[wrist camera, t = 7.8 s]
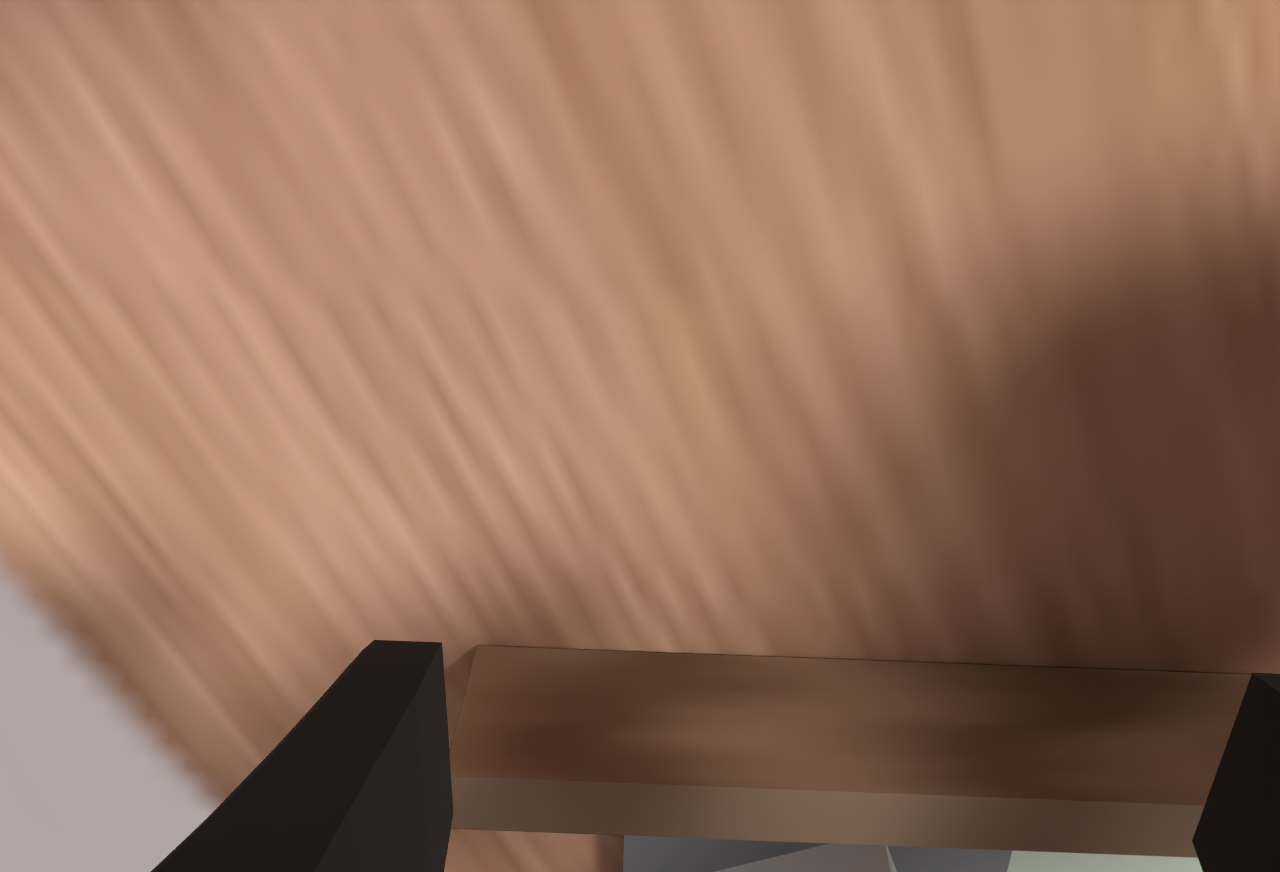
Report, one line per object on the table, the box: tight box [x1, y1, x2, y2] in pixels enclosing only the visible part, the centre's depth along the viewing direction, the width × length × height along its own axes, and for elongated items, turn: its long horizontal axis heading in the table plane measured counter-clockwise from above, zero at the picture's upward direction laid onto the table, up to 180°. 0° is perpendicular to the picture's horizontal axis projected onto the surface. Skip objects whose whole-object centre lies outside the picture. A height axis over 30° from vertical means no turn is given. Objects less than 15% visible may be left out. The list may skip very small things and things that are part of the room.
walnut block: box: [449, 646, 1251, 858], centre depth 20 cm, size 20×1×4 cm, turn 88°
